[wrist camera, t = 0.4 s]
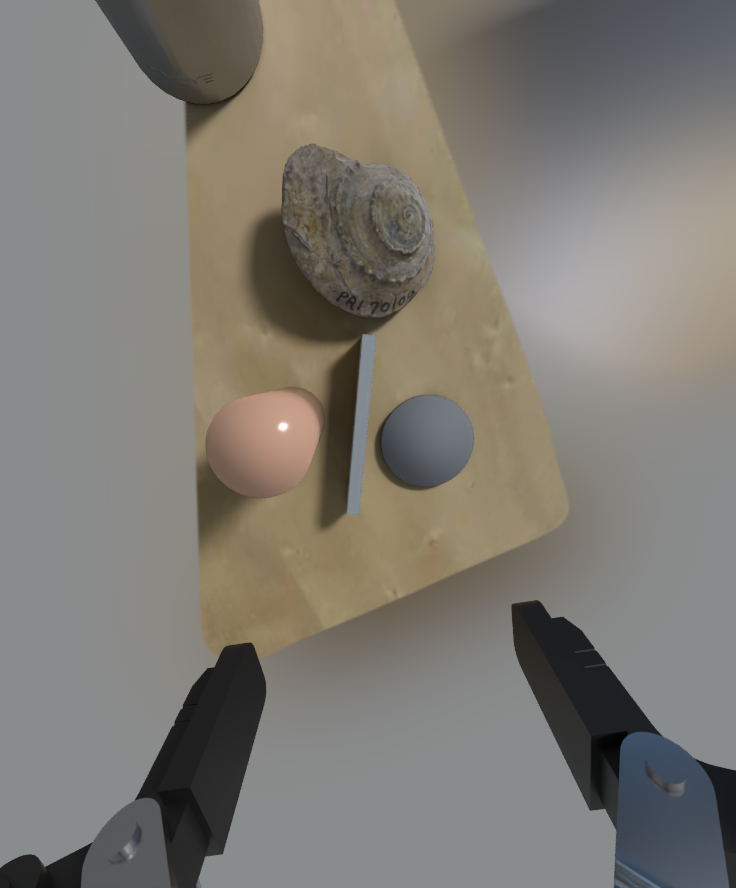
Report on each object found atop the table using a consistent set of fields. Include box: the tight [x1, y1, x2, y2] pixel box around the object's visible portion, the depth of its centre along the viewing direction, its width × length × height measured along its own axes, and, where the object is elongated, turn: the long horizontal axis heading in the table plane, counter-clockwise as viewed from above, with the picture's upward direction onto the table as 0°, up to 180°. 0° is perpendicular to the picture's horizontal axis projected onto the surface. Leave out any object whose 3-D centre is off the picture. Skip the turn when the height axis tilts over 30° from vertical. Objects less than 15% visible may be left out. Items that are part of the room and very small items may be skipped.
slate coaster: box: [381, 395, 474, 487], centre depth 30 cm, size 8×8×1 cm
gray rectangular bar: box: [347, 334, 376, 515], centre depth 28 cm, size 14×1×3 cm, turn 175°
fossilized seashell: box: [282, 144, 436, 318], centre depth 24 cm, size 11×11×7 cm
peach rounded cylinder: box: [206, 387, 325, 498], centre depth 23 cm, size 5×5×12 cm
